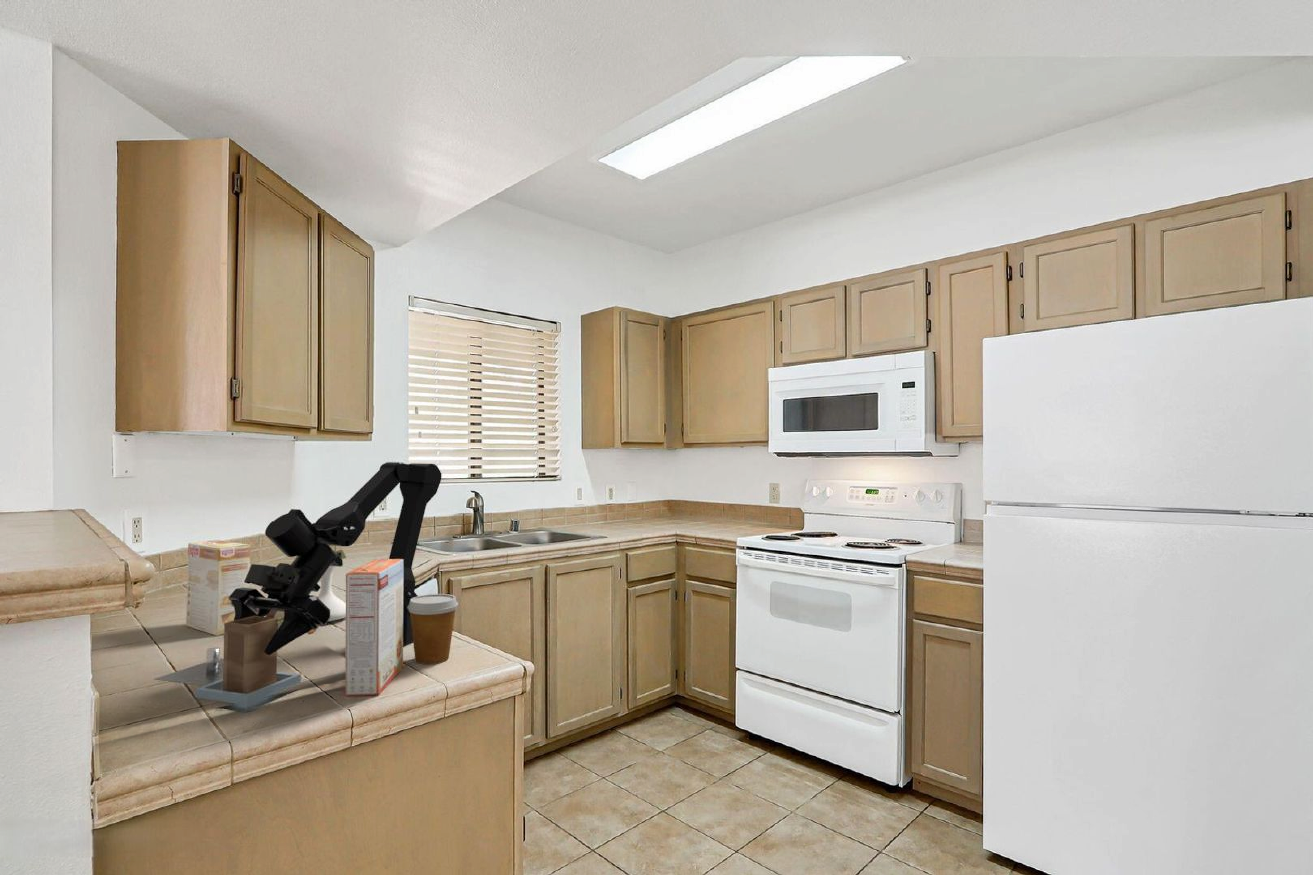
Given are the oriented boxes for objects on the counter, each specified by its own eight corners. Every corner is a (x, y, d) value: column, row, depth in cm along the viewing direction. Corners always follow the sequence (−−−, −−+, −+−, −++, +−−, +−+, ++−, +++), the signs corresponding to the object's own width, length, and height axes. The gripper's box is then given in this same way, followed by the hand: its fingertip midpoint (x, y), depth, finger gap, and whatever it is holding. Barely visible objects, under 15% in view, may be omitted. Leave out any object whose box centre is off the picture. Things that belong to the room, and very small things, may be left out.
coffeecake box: (249, 629, 149) (251, 544, 150) (215, 636, 143) (217, 547, 144) (218, 619, 157) (220, 539, 158) (184, 626, 151) (186, 542, 152)
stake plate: (267, 670, 121) (267, 642, 121) (206, 693, 110) (207, 662, 110) (217, 664, 124) (218, 637, 125) (153, 685, 113) (154, 655, 113)
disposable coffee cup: (466, 655, 132) (467, 595, 132) (436, 669, 123) (437, 605, 123) (428, 650, 135) (429, 591, 135) (395, 663, 126) (396, 601, 126)
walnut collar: (253, 685, 112) (254, 615, 112) (276, 689, 110) (277, 618, 110) (222, 696, 107) (224, 623, 107) (246, 701, 105) (248, 626, 105)
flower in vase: (289, 621, 157) (291, 517, 157) (335, 612, 166) (337, 514, 167) (317, 629, 149) (320, 520, 150) (364, 619, 158) (366, 517, 159)
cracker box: (371, 669, 122) (373, 558, 123) (404, 668, 123) (406, 558, 124) (341, 697, 109) (344, 571, 109) (378, 696, 109) (381, 571, 110)
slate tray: (300, 689, 112) (300, 674, 112) (246, 712, 102) (246, 696, 102) (252, 682, 115) (252, 668, 115) (194, 704, 105) (195, 689, 105)
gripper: (240, 542, 117) (174, 618, 106) (317, 548, 110) (255, 630, 99) (278, 578, 124) (220, 653, 113) (353, 586, 117) (299, 666, 107)
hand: (246, 650), depth 108 cm, fingers open, 9 cm apart
